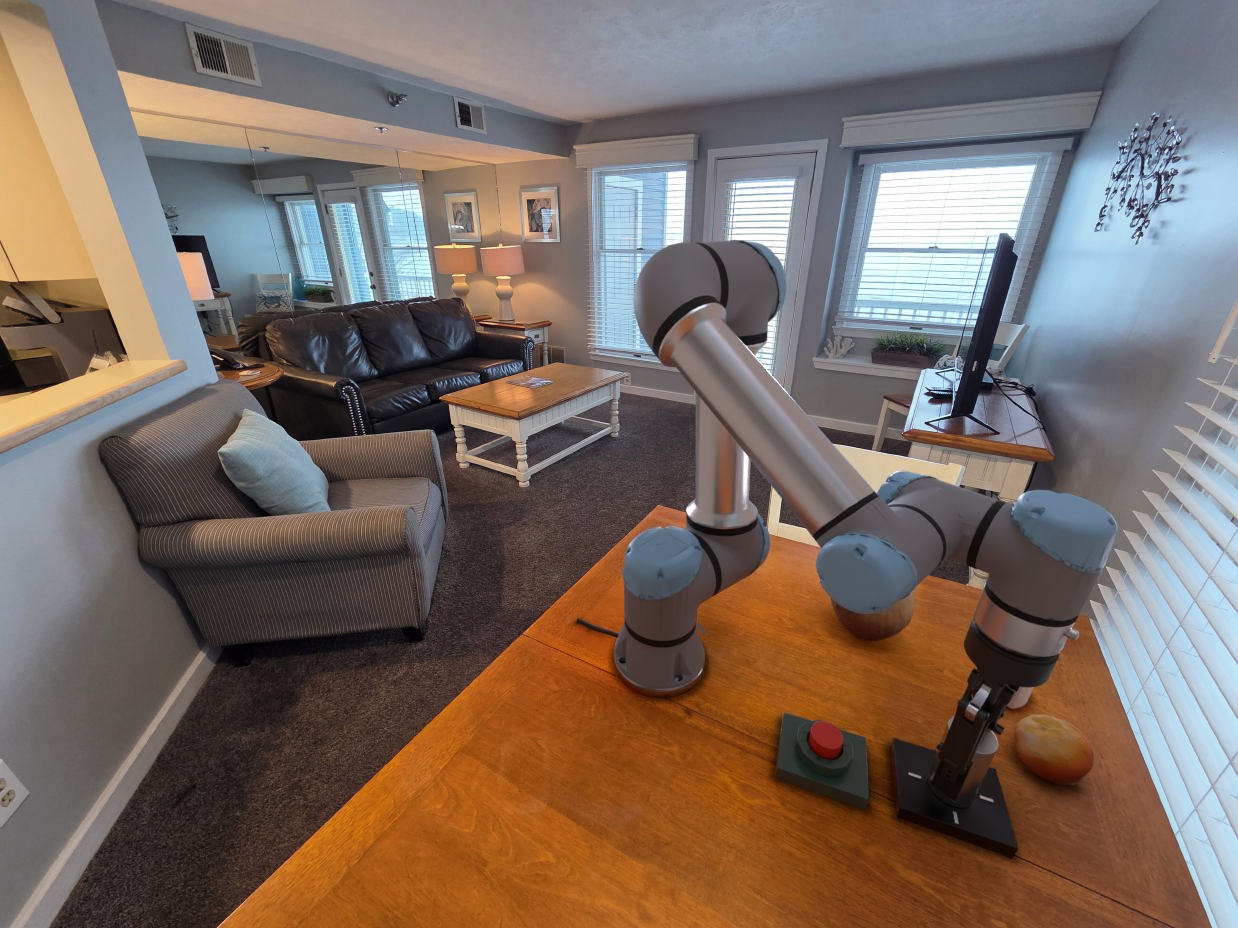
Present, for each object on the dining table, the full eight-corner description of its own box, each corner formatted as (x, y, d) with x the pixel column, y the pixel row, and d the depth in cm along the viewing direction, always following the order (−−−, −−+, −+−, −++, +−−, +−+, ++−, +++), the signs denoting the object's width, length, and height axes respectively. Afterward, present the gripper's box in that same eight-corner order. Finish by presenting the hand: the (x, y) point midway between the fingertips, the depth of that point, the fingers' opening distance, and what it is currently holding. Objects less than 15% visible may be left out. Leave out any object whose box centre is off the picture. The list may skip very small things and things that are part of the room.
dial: (963, 816, 60) (989, 760, 55) (919, 783, 63) (941, 728, 59) (980, 790, 63) (1006, 735, 58) (937, 760, 66) (958, 705, 62)
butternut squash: (918, 656, 85) (959, 531, 74) (838, 655, 85) (868, 531, 75) (881, 601, 97) (911, 487, 87) (812, 601, 98) (834, 487, 87)
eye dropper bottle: (1040, 708, 75) (1070, 649, 70) (1004, 710, 75) (1031, 650, 70) (1018, 684, 79) (1045, 626, 74) (984, 686, 79) (1008, 628, 74)
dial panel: (896, 817, 62) (900, 806, 61) (890, 746, 70) (893, 736, 69) (1012, 858, 58) (1018, 847, 57) (991, 778, 66) (996, 767, 65)
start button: (807, 752, 66) (810, 742, 65) (809, 727, 69) (811, 717, 68) (840, 763, 64) (843, 753, 63) (840, 737, 68) (843, 726, 67)
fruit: (1112, 806, 61) (1089, 753, 60) (1031, 797, 66) (1009, 748, 65) (1098, 753, 67) (1078, 704, 66) (1026, 749, 72) (1006, 703, 71)
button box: (774, 778, 66) (778, 758, 65) (781, 721, 74) (785, 702, 72) (865, 810, 63) (871, 790, 61) (863, 747, 70) (868, 728, 68)
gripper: (1028, 703, 45) (956, 853, 54) (1086, 616, 54) (1016, 756, 64) (938, 652, 50) (887, 797, 60) (1005, 581, 60) (952, 715, 70)
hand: (954, 775), depth 62 cm, fingers closed on dial, 5 cm apart
